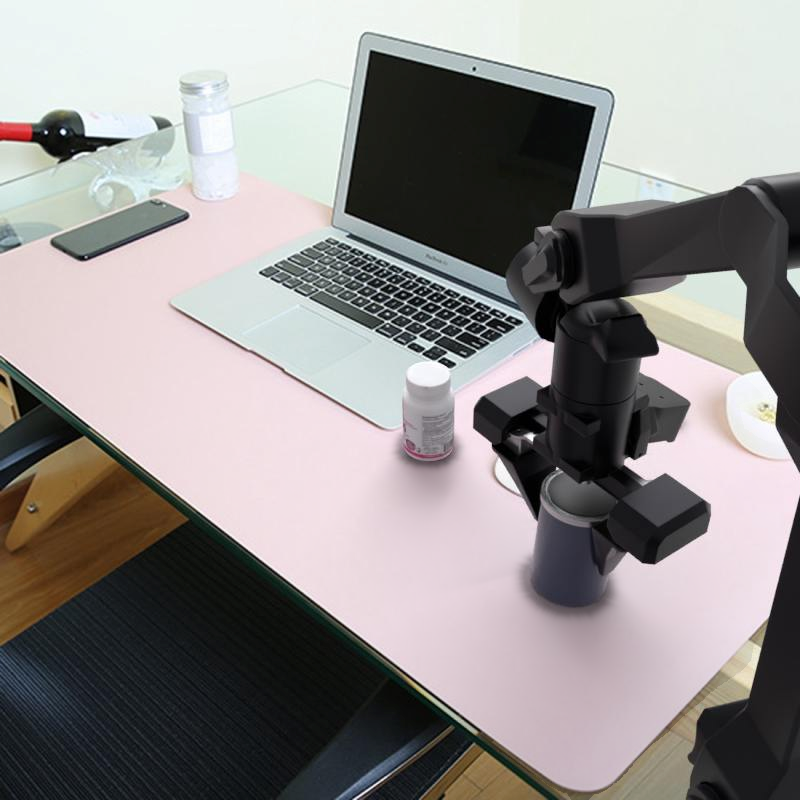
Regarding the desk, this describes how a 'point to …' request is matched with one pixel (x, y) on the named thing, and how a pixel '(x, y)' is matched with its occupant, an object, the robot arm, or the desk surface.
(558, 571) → the navy blue tumbler
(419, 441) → the pill bottle
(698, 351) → the desk surface
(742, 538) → the desk surface
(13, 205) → the desk surface
